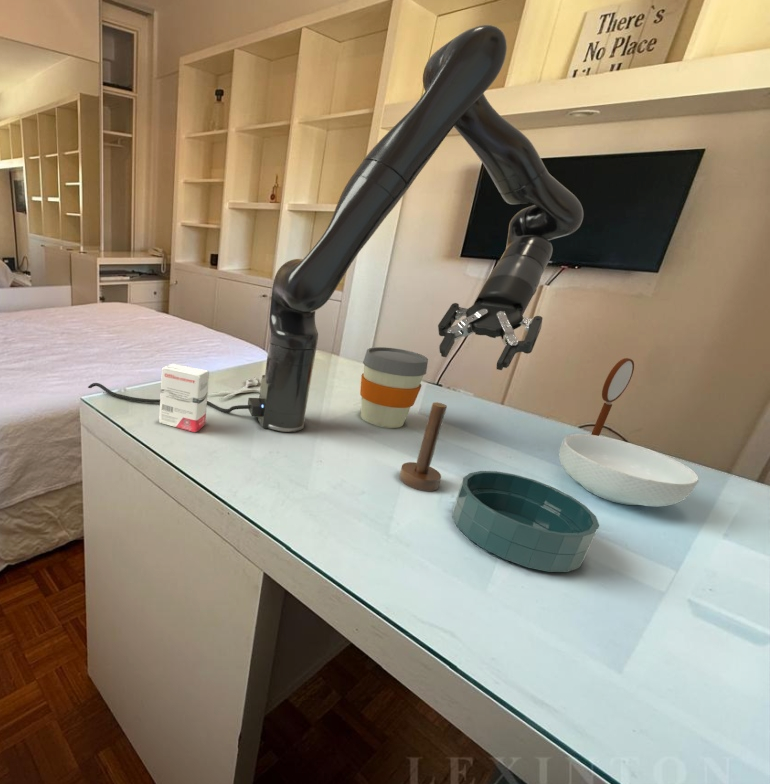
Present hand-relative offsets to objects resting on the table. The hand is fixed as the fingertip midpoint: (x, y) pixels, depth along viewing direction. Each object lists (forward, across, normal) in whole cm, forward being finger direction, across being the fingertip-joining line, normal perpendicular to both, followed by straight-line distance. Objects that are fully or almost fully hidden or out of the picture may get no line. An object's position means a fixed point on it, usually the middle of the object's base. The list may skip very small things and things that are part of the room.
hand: (470, 360), depth 76 cm
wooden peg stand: (+21, 0, +6) cm, 22 cm away
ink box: (+33, -40, -5) cm, 53 cm away
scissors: (+15, -45, +12) cm, 50 cm away
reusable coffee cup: (+6, -16, +22) cm, 28 cm away
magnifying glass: (-7, +18, +35) cm, 40 cm away
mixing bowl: (+24, +15, +3) cm, 29 cm away
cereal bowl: (+4, +23, +24) cm, 33 cm away
